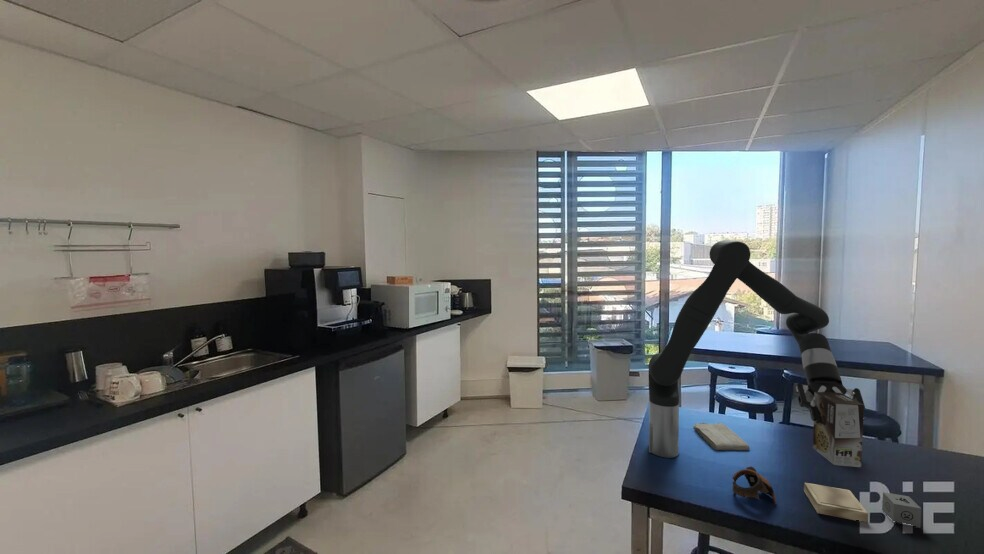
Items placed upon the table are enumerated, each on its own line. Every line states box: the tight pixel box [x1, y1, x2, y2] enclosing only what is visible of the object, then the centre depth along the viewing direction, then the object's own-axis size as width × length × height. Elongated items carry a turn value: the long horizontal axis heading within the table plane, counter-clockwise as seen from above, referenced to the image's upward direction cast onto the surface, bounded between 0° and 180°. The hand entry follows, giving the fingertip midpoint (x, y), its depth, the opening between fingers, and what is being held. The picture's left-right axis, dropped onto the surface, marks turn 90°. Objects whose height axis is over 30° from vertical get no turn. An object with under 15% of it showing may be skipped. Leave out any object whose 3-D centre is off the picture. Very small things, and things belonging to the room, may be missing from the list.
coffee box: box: [812, 392, 865, 468], centre depth 102 cm, size 9×6×16 cm
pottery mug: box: [732, 466, 777, 505], centre depth 108 cm, size 12×10×8 cm
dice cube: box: [881, 491, 922, 529], centre depth 97 cm, size 5×5×5 cm
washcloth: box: [692, 422, 751, 451], centre depth 141 cm, size 12×18×3 cm, turn 178°
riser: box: [803, 481, 869, 523], centre depth 103 cm, size 10×10×3 cm
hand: (836, 424), depth 102 cm, fingers closed on coffee box, 7 cm apart
